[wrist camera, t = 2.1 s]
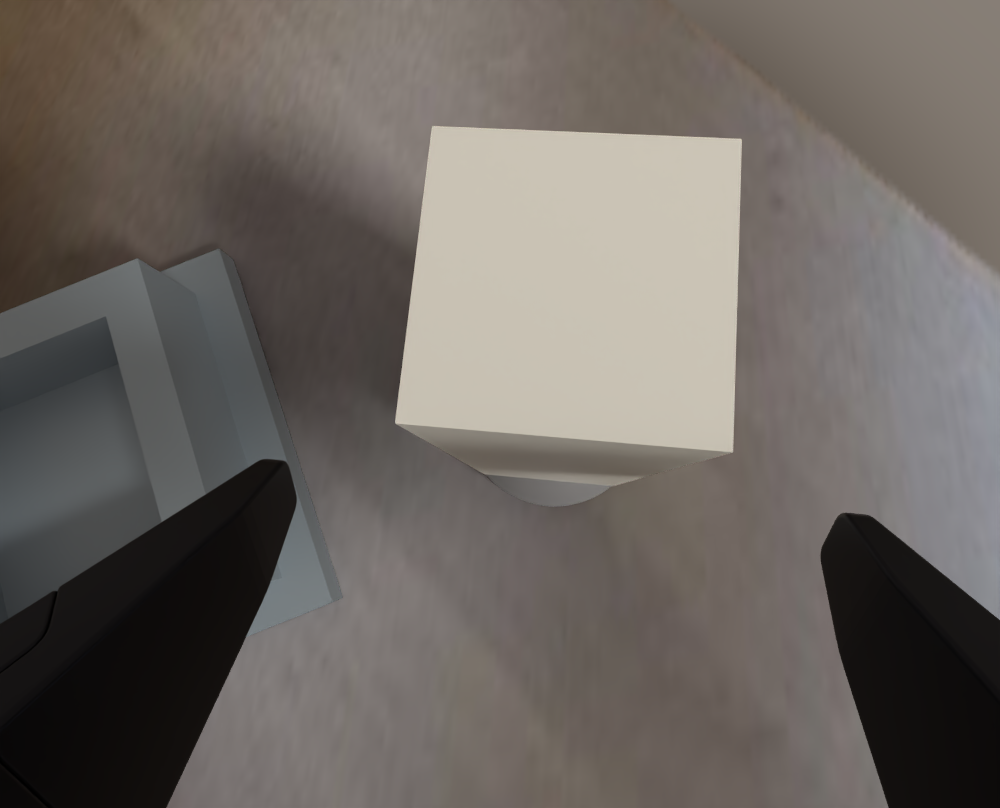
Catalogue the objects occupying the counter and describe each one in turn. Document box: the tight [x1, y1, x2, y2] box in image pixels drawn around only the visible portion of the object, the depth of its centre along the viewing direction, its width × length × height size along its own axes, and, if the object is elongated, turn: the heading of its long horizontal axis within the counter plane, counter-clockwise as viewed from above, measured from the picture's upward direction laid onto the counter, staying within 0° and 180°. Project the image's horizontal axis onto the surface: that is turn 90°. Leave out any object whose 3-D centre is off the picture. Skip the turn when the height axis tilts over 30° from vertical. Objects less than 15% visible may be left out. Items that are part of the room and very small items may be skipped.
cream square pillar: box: [395, 126, 742, 506], centre depth 14 cm, size 6×6×13 cm
